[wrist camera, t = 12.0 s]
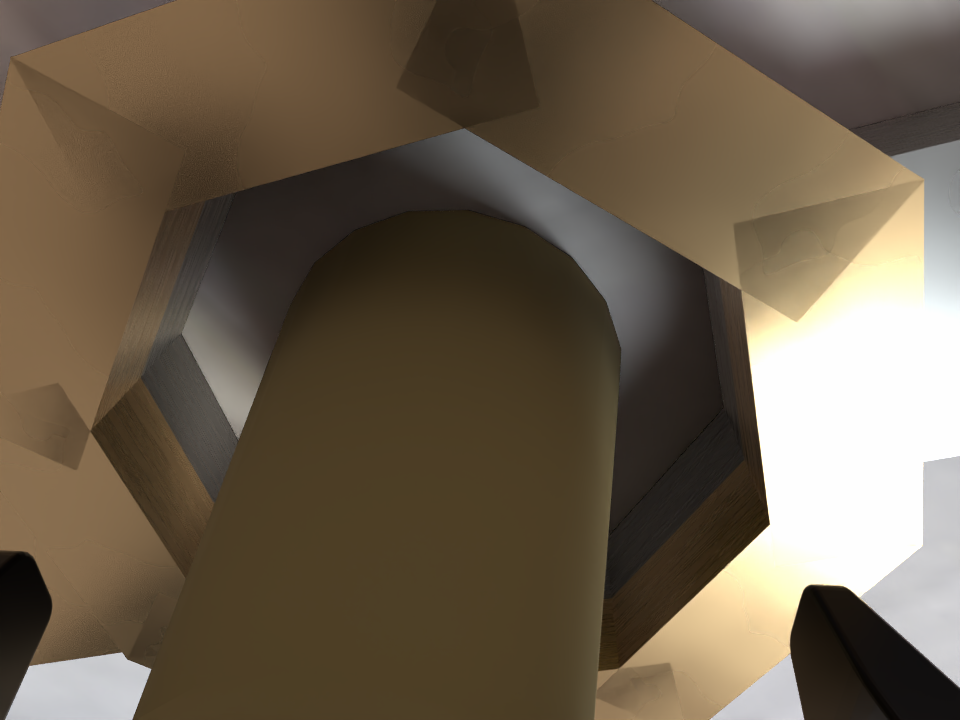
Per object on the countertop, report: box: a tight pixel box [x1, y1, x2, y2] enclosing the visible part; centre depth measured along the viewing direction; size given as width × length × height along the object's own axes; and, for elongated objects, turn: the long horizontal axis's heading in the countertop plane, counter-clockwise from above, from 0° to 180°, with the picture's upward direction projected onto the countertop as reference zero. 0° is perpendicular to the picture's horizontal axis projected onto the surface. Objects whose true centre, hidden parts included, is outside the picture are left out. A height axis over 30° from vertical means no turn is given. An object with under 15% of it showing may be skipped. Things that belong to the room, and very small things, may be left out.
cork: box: [133, 210, 621, 720], centre depth 8 cm, size 6×6×11 cm
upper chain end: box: [0, 0, 924, 720], centre depth 13 cm, size 26×13×3 cm, turn 106°
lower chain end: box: [141, 102, 960, 599], centre depth 11 cm, size 26×13×2 cm, turn 106°
